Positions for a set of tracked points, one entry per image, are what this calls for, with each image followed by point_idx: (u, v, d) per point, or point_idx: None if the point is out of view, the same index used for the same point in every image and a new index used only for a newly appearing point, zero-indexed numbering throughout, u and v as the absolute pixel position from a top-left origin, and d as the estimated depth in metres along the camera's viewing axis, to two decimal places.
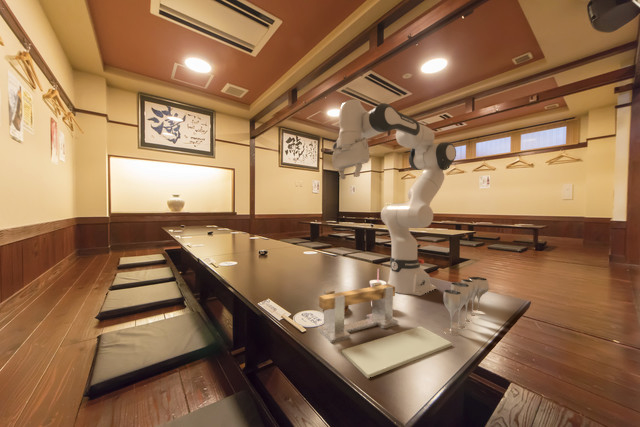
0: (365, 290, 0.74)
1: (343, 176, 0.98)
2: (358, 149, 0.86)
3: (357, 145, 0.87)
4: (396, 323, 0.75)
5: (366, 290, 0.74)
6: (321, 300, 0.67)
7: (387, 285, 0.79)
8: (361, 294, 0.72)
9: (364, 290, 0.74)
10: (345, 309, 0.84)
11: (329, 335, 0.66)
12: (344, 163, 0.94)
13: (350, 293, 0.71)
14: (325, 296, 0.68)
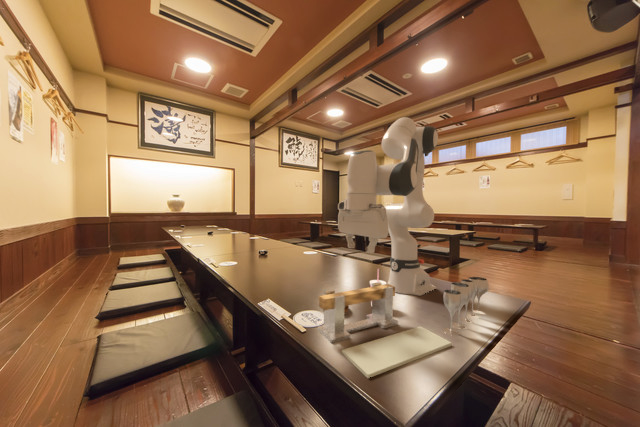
0: (365, 290, 0.74)
1: (352, 244, 0.76)
2: (374, 220, 0.65)
3: (373, 215, 0.65)
4: (396, 323, 0.75)
5: (366, 290, 0.74)
6: (321, 300, 0.67)
7: (387, 285, 0.79)
8: (361, 294, 0.72)
9: (364, 290, 0.74)
10: (345, 309, 0.84)
11: (329, 335, 0.66)
12: (354, 231, 0.73)
13: (350, 293, 0.71)
14: (325, 296, 0.68)
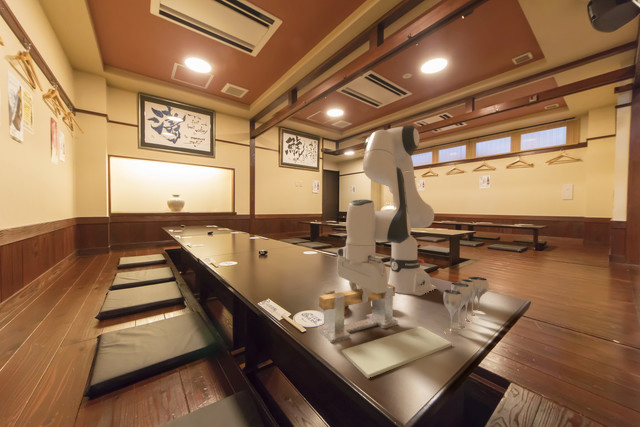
0: None
1: None
2: (373, 275, 0.65)
3: (372, 269, 0.65)
4: (396, 323, 0.75)
5: None
6: (321, 300, 0.67)
7: (387, 285, 0.79)
8: (361, 294, 0.72)
9: None
10: (345, 309, 0.84)
11: (329, 335, 0.66)
12: (353, 280, 0.73)
13: (350, 293, 0.71)
14: (325, 296, 0.68)
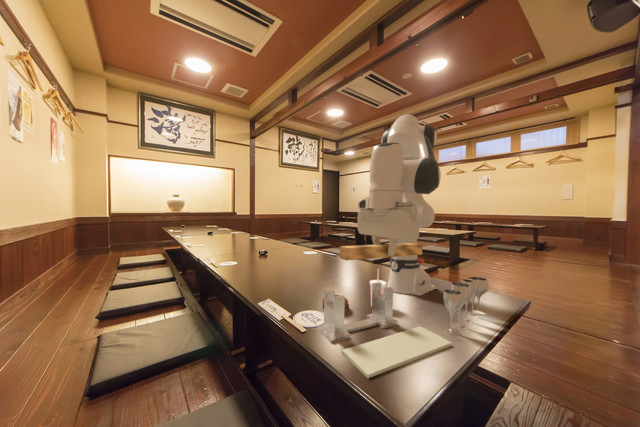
0: None
1: None
2: (402, 220, 0.57)
3: (401, 214, 0.57)
4: (396, 323, 0.75)
5: None
6: (343, 250, 0.59)
7: (413, 243, 0.71)
8: (386, 247, 0.64)
9: None
10: (346, 309, 0.84)
11: (329, 335, 0.66)
12: (377, 232, 0.65)
13: (374, 245, 0.63)
14: (347, 246, 0.60)
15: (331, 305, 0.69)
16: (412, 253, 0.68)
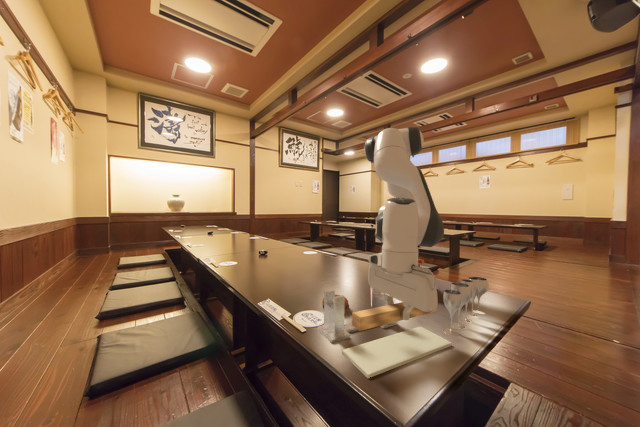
0: None
1: None
2: (420, 289, 0.53)
3: (418, 282, 0.54)
4: (396, 323, 0.75)
5: None
6: (356, 318, 0.56)
7: None
8: (401, 310, 0.60)
9: None
10: (346, 308, 0.84)
11: (329, 335, 0.66)
12: (390, 293, 0.61)
13: (388, 309, 0.59)
14: (360, 313, 0.56)
15: (331, 305, 0.69)
16: (427, 311, 0.64)
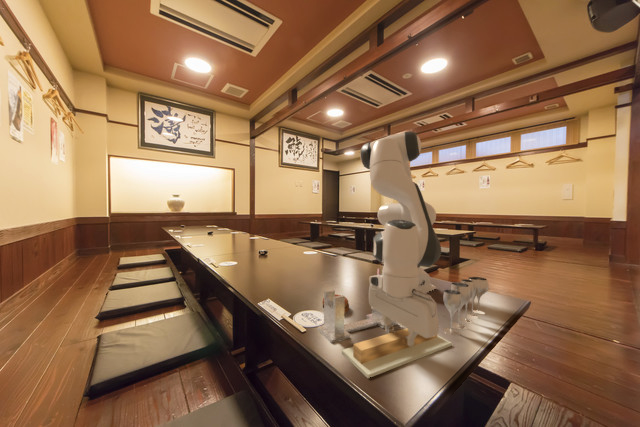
0: (404, 332, 0.63)
1: (391, 329, 0.64)
2: (421, 315, 0.54)
3: (419, 308, 0.54)
4: (396, 323, 0.75)
5: (406, 333, 0.62)
6: (357, 350, 0.56)
7: None
8: (401, 339, 0.60)
9: (404, 333, 0.62)
10: (346, 308, 0.84)
11: (329, 335, 0.66)
12: (391, 316, 0.62)
13: (389, 339, 0.59)
14: (361, 345, 0.57)
15: (331, 305, 0.69)
16: (427, 338, 0.65)
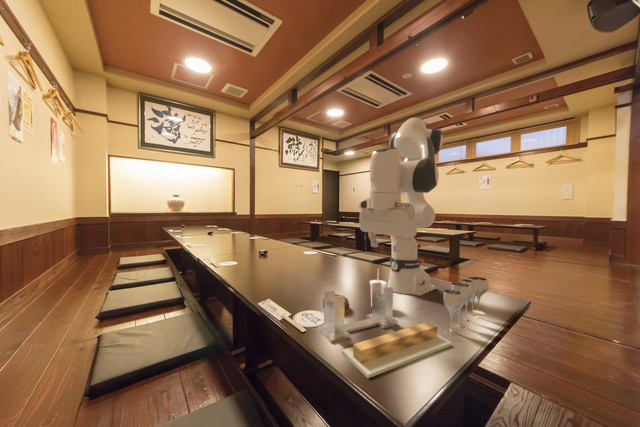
0: (404, 332, 0.63)
1: (375, 243, 0.75)
2: (402, 219, 0.63)
3: (400, 214, 0.64)
4: (396, 323, 0.75)
5: (406, 333, 0.62)
6: (357, 350, 0.56)
7: (427, 324, 0.68)
8: (401, 339, 0.60)
9: (404, 333, 0.62)
10: (346, 308, 0.84)
11: (329, 335, 0.66)
12: (378, 230, 0.71)
13: (389, 339, 0.59)
14: (361, 345, 0.57)
15: (331, 305, 0.69)
16: (427, 338, 0.65)
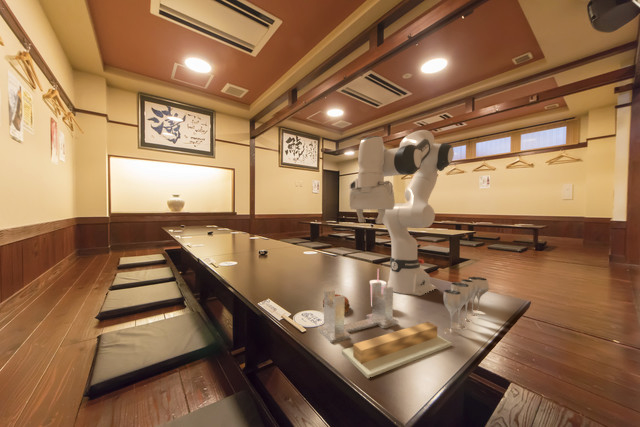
0: (404, 332, 0.63)
1: (362, 219, 0.88)
2: (382, 194, 0.76)
3: (381, 190, 0.77)
4: (396, 323, 0.75)
5: (406, 333, 0.62)
6: (357, 350, 0.56)
7: (427, 324, 0.68)
8: (401, 339, 0.60)
9: (404, 333, 0.62)
10: (346, 308, 0.84)
11: (329, 335, 0.66)
12: (364, 206, 0.84)
13: (389, 339, 0.59)
14: (361, 345, 0.57)
15: (331, 305, 0.69)
16: (427, 338, 0.65)
